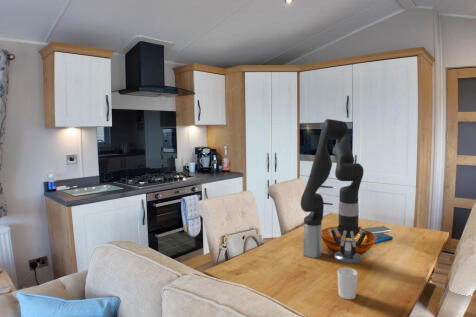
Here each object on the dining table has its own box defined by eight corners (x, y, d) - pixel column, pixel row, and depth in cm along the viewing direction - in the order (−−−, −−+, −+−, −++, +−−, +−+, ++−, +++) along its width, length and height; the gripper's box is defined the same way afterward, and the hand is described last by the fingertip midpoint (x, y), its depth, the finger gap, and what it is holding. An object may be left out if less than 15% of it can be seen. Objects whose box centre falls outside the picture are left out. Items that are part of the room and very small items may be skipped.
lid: (334, 261, 126) (334, 244, 125) (334, 251, 136) (334, 235, 135) (362, 264, 123) (362, 246, 122) (360, 254, 133) (361, 237, 132)
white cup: (334, 290, 135) (334, 268, 134) (352, 289, 135) (352, 267, 134) (341, 300, 127) (342, 276, 126) (360, 299, 127) (361, 275, 126)
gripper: (329, 214, 126) (329, 256, 128) (368, 216, 122) (367, 260, 124) (330, 209, 133) (330, 249, 135) (366, 211, 129) (365, 253, 131)
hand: (347, 254), depth 129 cm, fingers closed on lid, 3 cm apart
